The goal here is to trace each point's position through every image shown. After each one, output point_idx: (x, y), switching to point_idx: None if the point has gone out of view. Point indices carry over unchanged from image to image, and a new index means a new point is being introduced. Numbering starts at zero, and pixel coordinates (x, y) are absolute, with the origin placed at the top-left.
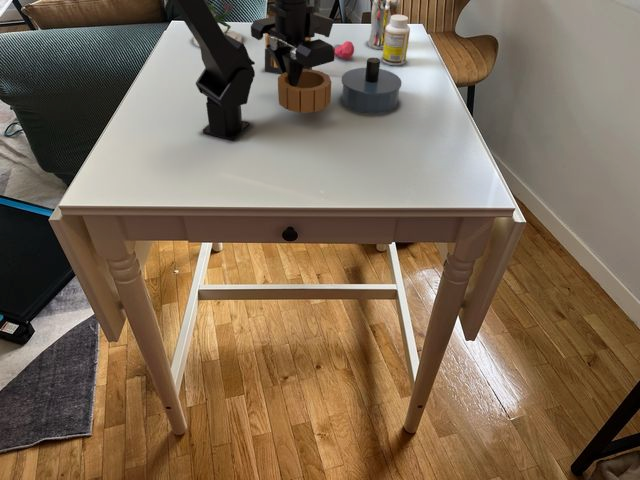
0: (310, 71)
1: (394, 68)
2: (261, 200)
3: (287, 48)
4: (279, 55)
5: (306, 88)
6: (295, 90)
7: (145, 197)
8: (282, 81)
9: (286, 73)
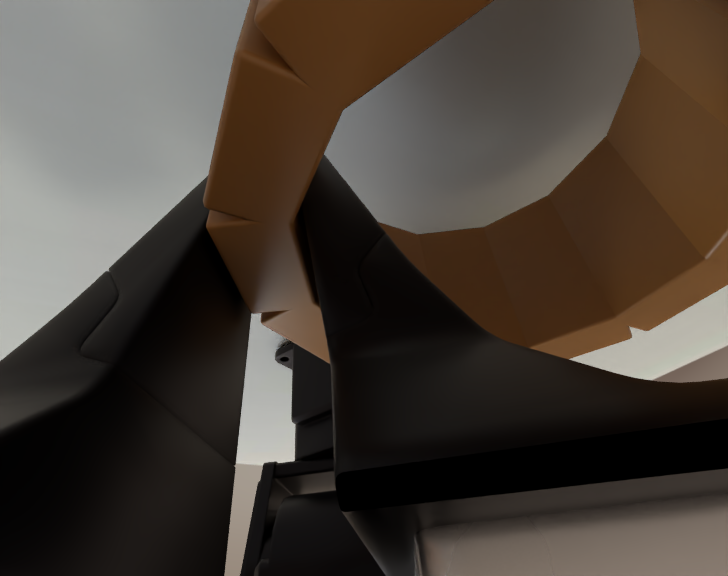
0: (369, 63)
1: None
2: (684, 358)
3: (116, 564)
4: (215, 512)
5: (664, 295)
6: (599, 347)
7: None
8: None
9: (287, 310)
